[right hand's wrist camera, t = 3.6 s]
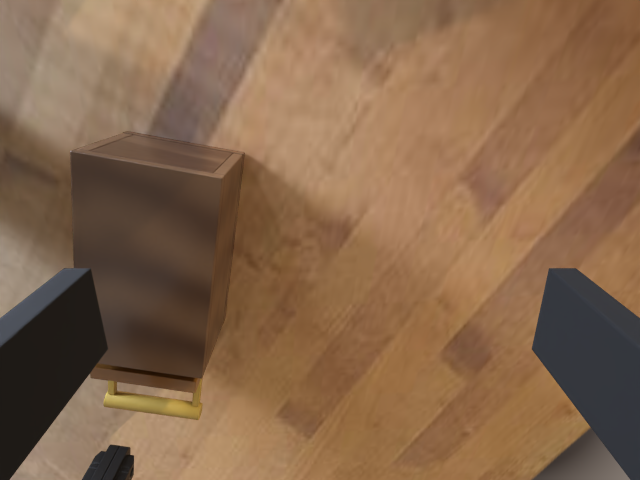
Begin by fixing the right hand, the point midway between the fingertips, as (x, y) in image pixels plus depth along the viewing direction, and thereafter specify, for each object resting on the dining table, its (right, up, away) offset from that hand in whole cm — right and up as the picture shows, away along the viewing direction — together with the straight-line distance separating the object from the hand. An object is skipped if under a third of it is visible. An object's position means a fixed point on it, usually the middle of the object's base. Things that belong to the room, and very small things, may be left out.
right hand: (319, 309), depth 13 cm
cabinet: (-13, +3, +27) cm, 30 cm away
